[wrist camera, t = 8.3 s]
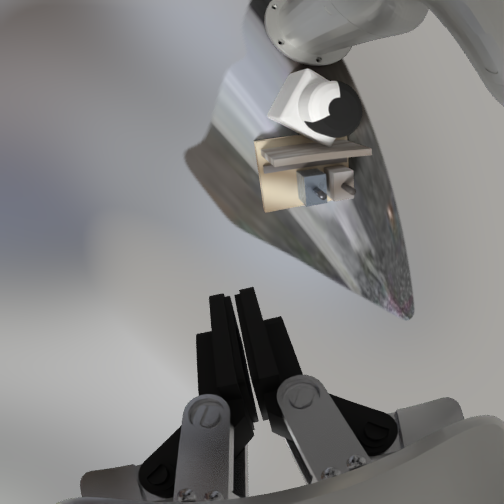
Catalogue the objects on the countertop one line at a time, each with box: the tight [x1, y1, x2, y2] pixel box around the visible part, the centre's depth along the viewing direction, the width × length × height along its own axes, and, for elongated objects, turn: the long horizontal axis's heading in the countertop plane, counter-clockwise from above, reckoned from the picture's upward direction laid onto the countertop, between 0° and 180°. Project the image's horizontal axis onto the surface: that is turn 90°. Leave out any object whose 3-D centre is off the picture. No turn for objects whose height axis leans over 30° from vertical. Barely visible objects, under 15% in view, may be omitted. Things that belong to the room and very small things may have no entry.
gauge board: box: [254, 135, 372, 212], centre depth 34 cm, size 10×13×8 cm
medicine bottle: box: [267, 68, 362, 147], centre depth 29 cm, size 7×7×12 cm
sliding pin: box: [296, 168, 327, 207], centre depth 35 cm, size 4×3×6 cm
